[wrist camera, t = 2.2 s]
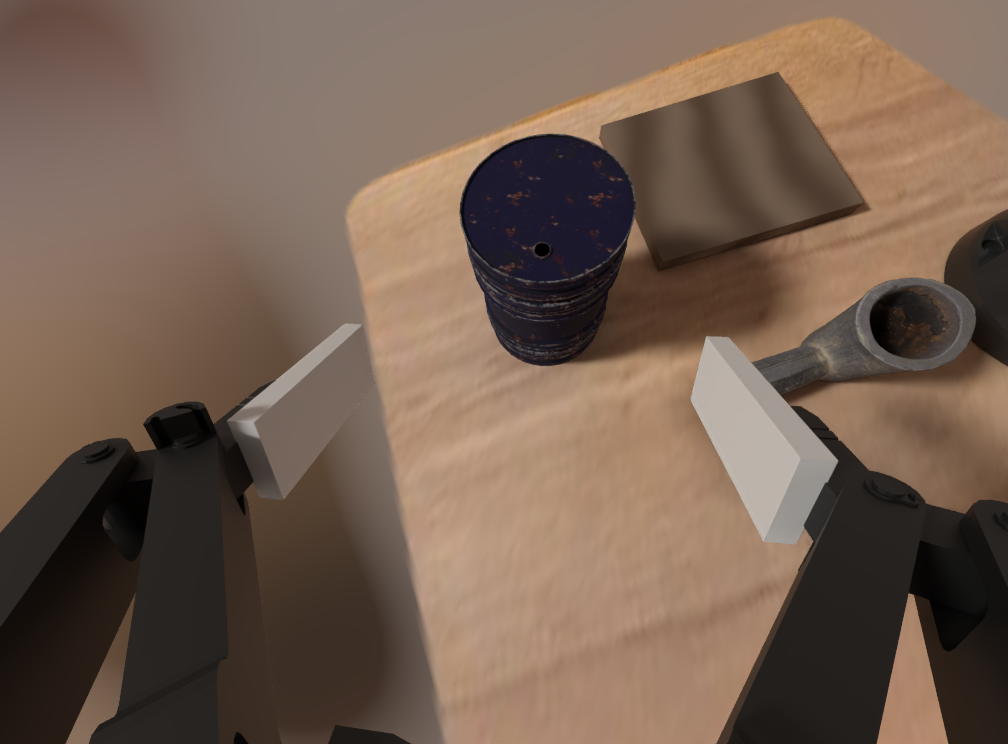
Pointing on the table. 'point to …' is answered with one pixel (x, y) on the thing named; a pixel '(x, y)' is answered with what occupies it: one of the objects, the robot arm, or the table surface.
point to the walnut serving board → (727, 170)
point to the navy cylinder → (547, 241)
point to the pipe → (880, 336)
